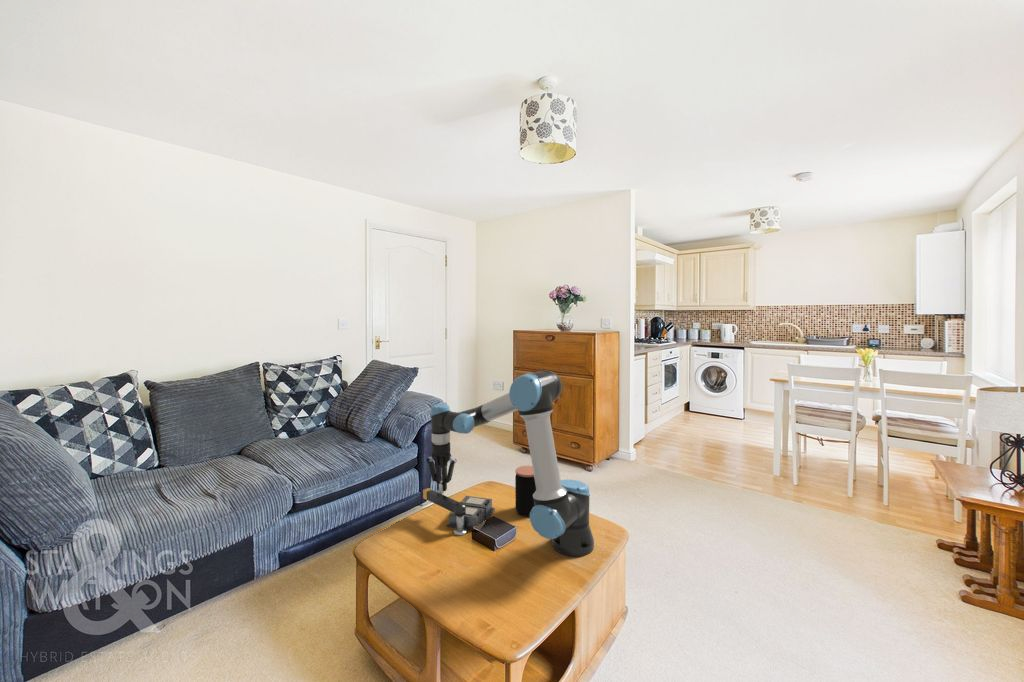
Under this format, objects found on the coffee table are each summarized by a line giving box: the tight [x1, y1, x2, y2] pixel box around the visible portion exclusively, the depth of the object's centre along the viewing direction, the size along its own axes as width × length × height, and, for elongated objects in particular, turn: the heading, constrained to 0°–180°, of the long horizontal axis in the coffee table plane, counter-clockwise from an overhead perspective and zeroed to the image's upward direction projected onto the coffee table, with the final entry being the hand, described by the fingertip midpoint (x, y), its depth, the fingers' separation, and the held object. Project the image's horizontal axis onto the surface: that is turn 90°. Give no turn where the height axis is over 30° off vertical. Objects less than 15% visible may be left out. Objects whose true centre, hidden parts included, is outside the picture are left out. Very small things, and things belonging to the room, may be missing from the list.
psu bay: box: [446, 495, 496, 531], centre depth 169 cm, size 14×18×6 cm
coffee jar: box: [514, 465, 536, 518], centre depth 174 cm, size 11×11×18 cm
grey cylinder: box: [453, 515, 468, 537], centre depth 158 cm, size 5×5×7 cm
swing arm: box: [422, 487, 466, 516], centre depth 164 cm, size 24×4×4 cm, turn 49°
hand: (442, 497), depth 170 cm, fingers closed
